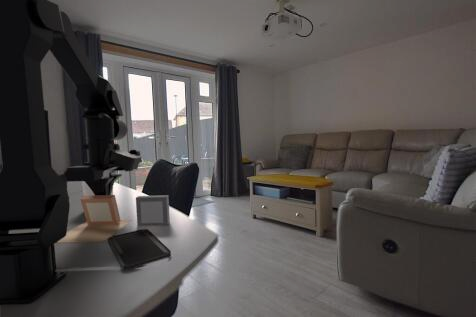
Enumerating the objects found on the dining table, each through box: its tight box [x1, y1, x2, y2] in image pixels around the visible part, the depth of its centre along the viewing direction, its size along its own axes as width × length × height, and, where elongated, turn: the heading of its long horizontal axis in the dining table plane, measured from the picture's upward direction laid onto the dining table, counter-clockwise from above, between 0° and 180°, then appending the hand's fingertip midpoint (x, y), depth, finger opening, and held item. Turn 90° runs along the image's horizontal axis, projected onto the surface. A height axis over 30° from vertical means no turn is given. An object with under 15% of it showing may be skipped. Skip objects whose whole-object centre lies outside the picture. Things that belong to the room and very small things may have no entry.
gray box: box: [135, 194, 171, 227], centre depth 57 cm, size 2×7×7 cm, turn 90°
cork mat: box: [55, 219, 133, 244], centre depth 55 cm, size 13×11×1 cm
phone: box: [107, 228, 172, 272], centre depth 46 cm, size 8×1×15 cm
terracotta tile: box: [79, 194, 122, 225], centre depth 57 cm, size 2×7×7 cm, turn 90°
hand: (105, 205), depth 59 cm, fingers closed
